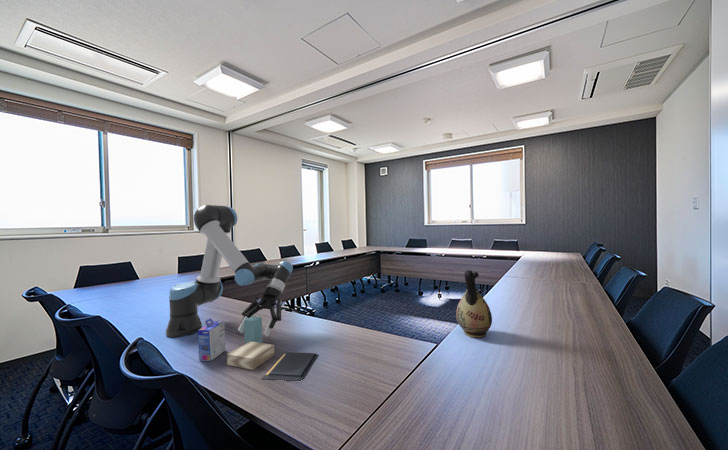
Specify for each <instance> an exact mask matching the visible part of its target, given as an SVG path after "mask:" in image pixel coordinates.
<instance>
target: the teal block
mask: <svg viewBox="0 0 728 450" xmlns="http://www.w3.org/2000/svg"><path fill="white" fill-rule="evenodd" d="M243 333H244V344H246V343H248V342H250V341H252V342H258V343H263V318H262V317H261V316H254V315H252V316H251V317H250V318H247V319H245V320H244V331H243Z"/></svg>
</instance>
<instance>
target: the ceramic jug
mask: <svg viewBox="0 0 728 450" xmlns="http://www.w3.org/2000/svg"><path fill="white" fill-rule="evenodd" d="M478 277H479V273H478V271H474V272H473V271H472V269H466V270H465V271H464V280H465V286H466V291H465V292H464V293H463V295H462V297H461V298H460V300H459V302H458V304H457V307H456V311H455V312H456V313H455V318H456V321H457V324H458V326H459V327H460V328H461V329H462V331H463V332H464V334H465V335H466V336H468V337H470V338H485V337H486V336H487V332H488V331H489V330H490V329H491V326H492V323H493V317H492V312H491V308H490V306H489V304H488V303H487V301H486V300H485V298H484V296H482V294H481V293H480V292H479V291H478V289H477V288H476V278H478ZM484 336H485V337H484Z"/></svg>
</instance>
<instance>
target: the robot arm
mask: <svg viewBox="0 0 728 450" xmlns="http://www.w3.org/2000/svg"><path fill="white" fill-rule="evenodd" d="M193 221H194V225H195V228H196V229H197V230H198V231H199V233H200V234H201V235H204V236H205V237H206V238H207V240H206V243H205V244H206V246H205V248H204V249H205V250H204V254H203V259H202V266H201V270H200V275H198V276H196V279H195V282H194V281H188V282H184V283H183V282H182V283H178V284H175V285H174V286H172V287H171V288H170V289H169V296H168V300H169V320H168V324H167V326H166V328H165V336H166V337H168V338H181V337H186V336H190V335H192V334H193V335H194V334H196V333H198V330H199V329H201V328H203V323H202V321H201V318H200V317H199V314H198V308H199V306H201V305H204V304H208V303H212V302H214V301H215V300H218V299H219V298H220V297H221V296H222V295H223V291H224V285H223V283H222V281H221V278H220V277H219V273H220V268H221V265H222V264H221V263H222V258H223V260H224V261H226V263H227V265H228V266H229V267H230V268H231V269H232V271H233V272H234V273H235V274H234V280H235V281H234V282H235V283H236V284H237V285H238V286H241V287H243V286H249V285H252V284H254V283H258V282H261V281H265V280H269V283H268V284H267V286H266V288H265V290H264V291H263V295H262V297H261V298H259V297H255V299H254V300H253V301H252V302H251V304H249V305H248V306H247V307H246V308H245V309H244V310H243V311H242V312H241V315H242V316H243V317H242V319H241V322H240V325H239V327H238V328H237V332H239V333H240V334H243V333H244V320H245V319H247V318H250V317H252V316H254V315H255V314H256V313H258V312H259V311H262V310H269V313H270V316H271V318H270V319H269V320H268V322H267V324H266V327H265V329H264V331H263V332H262V335H264V336H265V337H267V338H268V337H269V335H270V332H271V330H272V329H274V327H275V325H276V323H277V322H281V321H282V304H283V302H284V301H282V300H281V298H280V297H281V295H282V293H283V291H284V289H285V287H286V284H287V282H288V279H290V277H291V275H292V272H293V269H294V267H293V265H292V263H290V262H289V261H286V260H282V261H280V262H279V263H278V264H277V265H276V264H269V263H262V262H261V263H255V264H254V265H253V266H252V263H250V261H248V260H247V258H246V256H245V255H244V254H243V253H242V252H241V250H239V248H238V247H237V246H236V244H235V243H234V241H232V239H231V237H229V236H228V234H230V233H231V229H232V228H233V227H234V226H236V225H237V222H238V215H237V212H236V211H235V209H233V207H232V206H231V207H230V206H228V205H227V206H226V205H218V204H215V205H213V204H204V205H201V206H199V207H198V208H197V209H196V210H195V212H194V214H193ZM275 306H276V307H275ZM275 308H276V310H275Z"/></svg>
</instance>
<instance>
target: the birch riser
mask: <svg viewBox="0 0 728 450" xmlns="http://www.w3.org/2000/svg"><path fill="white" fill-rule="evenodd" d="M274 355H275V344H270V343H264V342H262V343H258V342H252V341H250V342H248V343H246V344H245V343H244V344H243V345H240V346H239V347H238V348H235V349H234V350H232V351H230V352H228V353H227V354H226V359H227V361H226V364H227V365H228V366H232V367H237V368H241V369H247V370H254V369H256V368H257V367H259V366H260V365H262V364H263V363H265V362H266V361H267V360H269V359H271V358H272V357H274Z"/></svg>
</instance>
